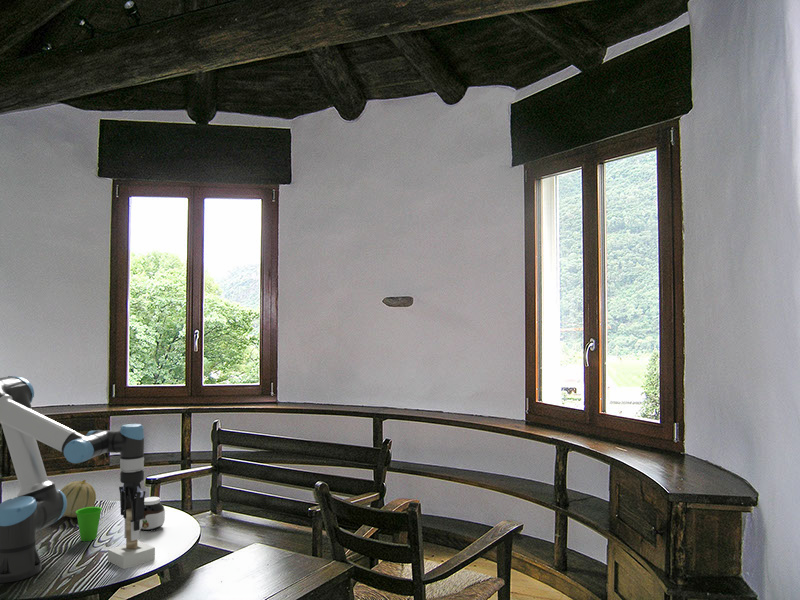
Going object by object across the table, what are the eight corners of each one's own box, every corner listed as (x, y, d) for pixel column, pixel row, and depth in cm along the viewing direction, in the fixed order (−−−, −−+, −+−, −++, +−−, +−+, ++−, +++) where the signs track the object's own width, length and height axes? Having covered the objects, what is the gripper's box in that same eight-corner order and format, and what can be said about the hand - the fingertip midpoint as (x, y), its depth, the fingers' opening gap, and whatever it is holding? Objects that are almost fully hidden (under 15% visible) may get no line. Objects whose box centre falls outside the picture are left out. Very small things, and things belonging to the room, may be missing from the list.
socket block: (124, 569, 210) (124, 557, 210) (107, 561, 217) (107, 549, 217) (154, 559, 218) (154, 547, 218) (138, 551, 225) (138, 540, 225)
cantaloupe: (51, 516, 266) (52, 480, 266) (88, 508, 276) (89, 474, 276) (63, 524, 255) (63, 487, 255) (101, 516, 265) (101, 480, 266)
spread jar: (167, 526, 253) (167, 496, 254) (153, 535, 242) (153, 505, 242) (138, 525, 254) (138, 495, 255) (123, 534, 243) (123, 504, 243)
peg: (129, 550, 215) (129, 511, 215) (124, 547, 217) (124, 509, 218) (139, 547, 218) (139, 509, 218) (134, 544, 220) (134, 507, 220)
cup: (69, 541, 236) (70, 511, 236) (91, 534, 244) (91, 505, 244) (85, 545, 232) (85, 515, 232) (107, 537, 240) (107, 508, 240)
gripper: (155, 471, 216) (155, 540, 215) (130, 464, 226) (129, 530, 226) (134, 475, 210) (134, 546, 209) (109, 468, 220) (109, 536, 220)
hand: (131, 538), depth 218 cm, fingers closed on peg, 3 cm apart
